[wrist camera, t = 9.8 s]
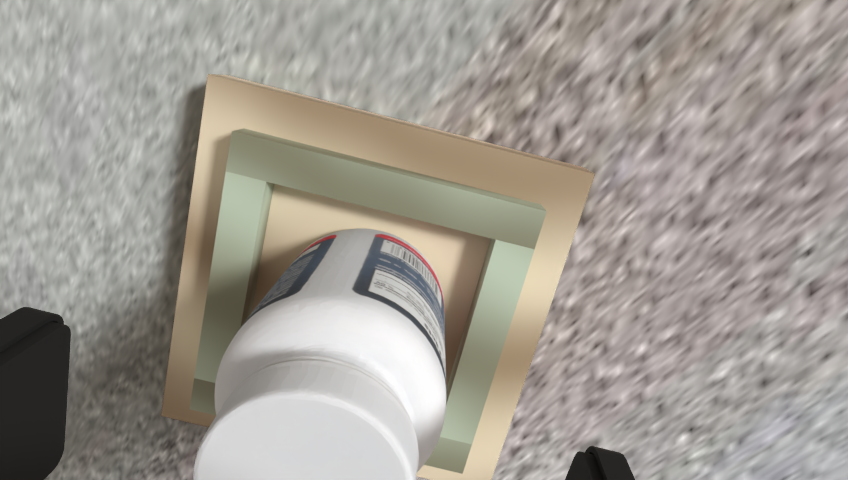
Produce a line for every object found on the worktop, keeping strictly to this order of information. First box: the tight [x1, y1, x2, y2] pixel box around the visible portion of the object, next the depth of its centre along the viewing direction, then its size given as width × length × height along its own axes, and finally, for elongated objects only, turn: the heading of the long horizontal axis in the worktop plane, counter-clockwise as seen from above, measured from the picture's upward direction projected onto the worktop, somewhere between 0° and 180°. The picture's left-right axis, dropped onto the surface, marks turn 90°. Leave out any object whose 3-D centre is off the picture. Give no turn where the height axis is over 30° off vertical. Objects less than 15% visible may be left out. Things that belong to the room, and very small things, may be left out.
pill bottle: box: [193, 228, 447, 480], centre depth 14 cm, size 5×5×9 cm
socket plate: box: [161, 74, 595, 480], centre depth 19 cm, size 12×12×2 cm
